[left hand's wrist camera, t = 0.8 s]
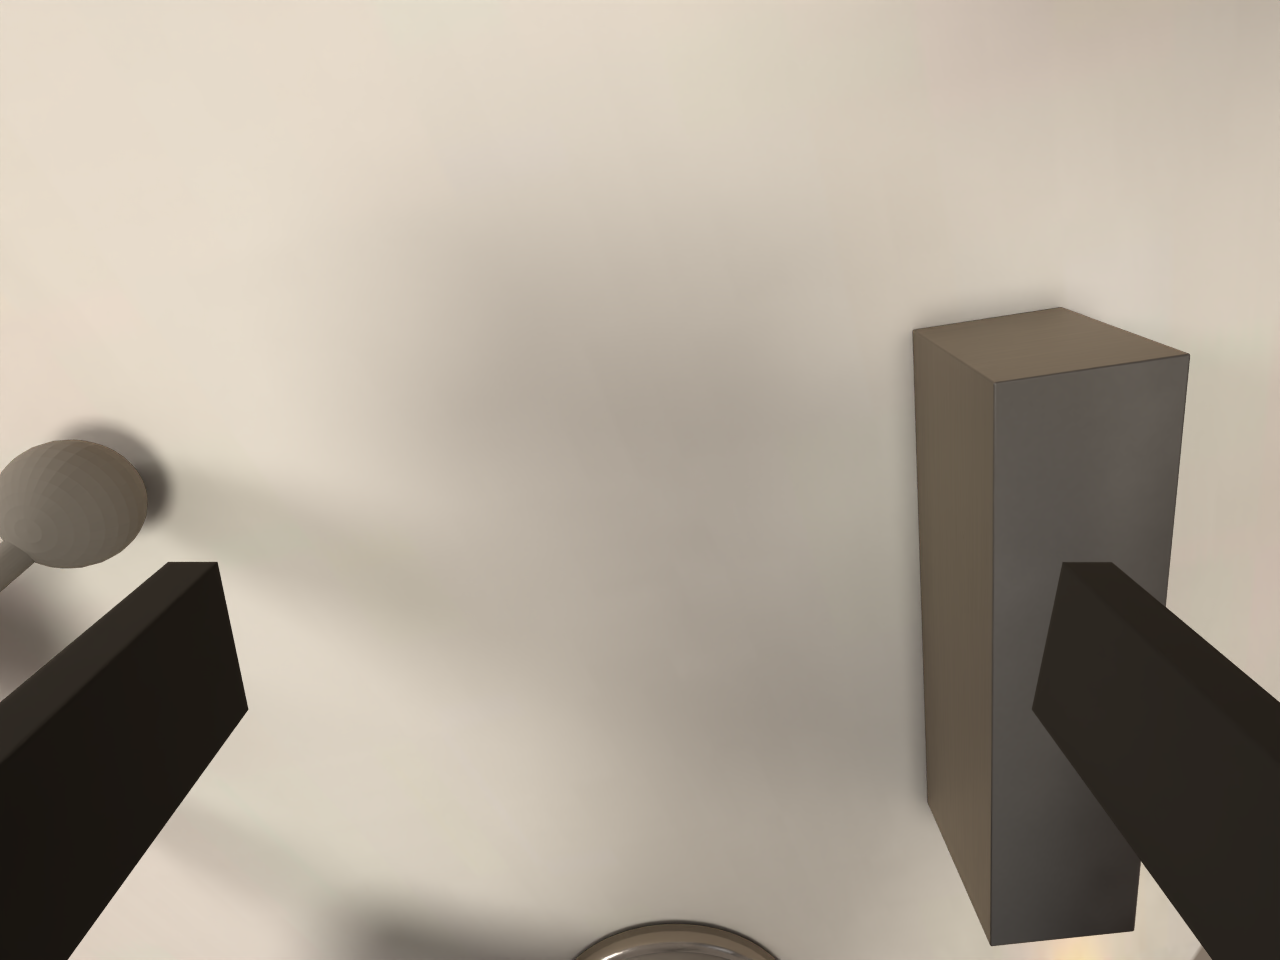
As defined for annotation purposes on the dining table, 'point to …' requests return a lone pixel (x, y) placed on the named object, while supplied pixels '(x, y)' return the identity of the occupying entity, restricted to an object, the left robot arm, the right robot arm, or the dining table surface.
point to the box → (1032, 590)
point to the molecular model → (67, 507)
